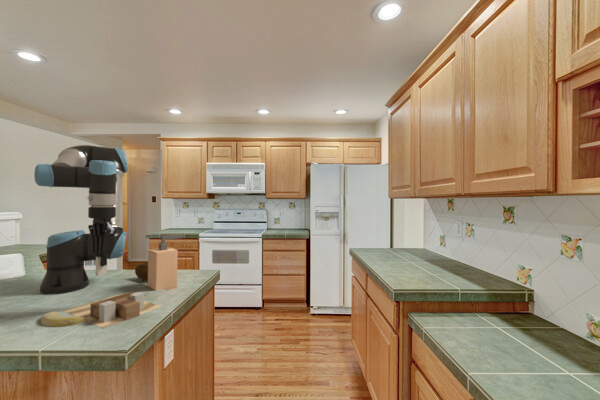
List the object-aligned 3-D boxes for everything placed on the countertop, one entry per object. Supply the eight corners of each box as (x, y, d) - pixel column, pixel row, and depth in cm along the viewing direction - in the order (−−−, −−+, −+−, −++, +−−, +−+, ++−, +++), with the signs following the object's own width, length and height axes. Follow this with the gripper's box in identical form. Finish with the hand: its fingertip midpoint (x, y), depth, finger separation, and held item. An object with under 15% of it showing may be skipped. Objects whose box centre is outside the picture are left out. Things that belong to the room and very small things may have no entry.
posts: (98, 320, 80) (99, 303, 80) (138, 306, 90) (138, 291, 90) (104, 322, 78) (104, 305, 78) (144, 308, 89) (144, 293, 89)
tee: (90, 316, 82) (90, 303, 82) (130, 303, 93) (130, 292, 93) (111, 325, 77) (112, 311, 77) (151, 310, 87) (151, 298, 87)
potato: (153, 275, 130) (153, 257, 130) (163, 280, 122) (163, 261, 122) (133, 279, 124) (134, 260, 124) (143, 284, 116) (143, 264, 116)
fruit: (55, 336, 73) (56, 324, 73) (32, 323, 80) (32, 312, 80) (86, 325, 79) (86, 314, 79) (62, 314, 86) (62, 304, 86)
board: (62, 313, 86) (62, 310, 86) (121, 296, 102) (121, 293, 102) (103, 331, 75) (103, 328, 75) (161, 309, 91) (161, 306, 91)
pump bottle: (155, 293, 106) (156, 238, 106) (147, 288, 112) (148, 236, 112) (186, 285, 116) (187, 235, 116) (177, 281, 122) (178, 233, 122)
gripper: (79, 205, 90) (78, 274, 91) (100, 207, 84) (99, 281, 85) (104, 204, 97) (103, 268, 97) (125, 207, 91) (123, 275, 91)
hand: (101, 274), depth 91 cm, fingers closed
